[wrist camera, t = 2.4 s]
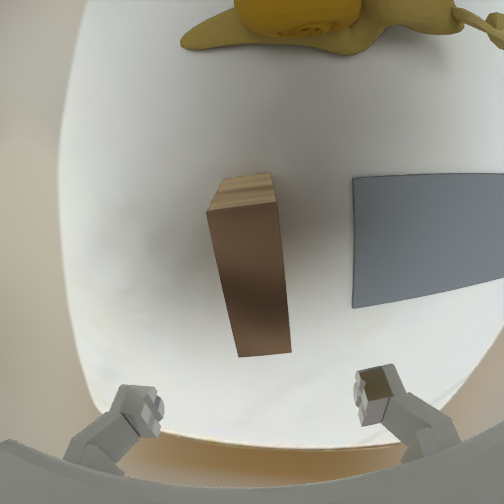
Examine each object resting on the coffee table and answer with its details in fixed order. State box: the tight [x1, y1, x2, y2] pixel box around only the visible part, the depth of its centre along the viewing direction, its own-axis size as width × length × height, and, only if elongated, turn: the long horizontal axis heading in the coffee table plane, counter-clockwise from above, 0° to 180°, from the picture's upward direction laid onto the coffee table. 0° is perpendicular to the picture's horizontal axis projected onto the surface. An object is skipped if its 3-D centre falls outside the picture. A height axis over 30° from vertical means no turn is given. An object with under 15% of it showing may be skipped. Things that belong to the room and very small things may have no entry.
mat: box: [352, 173, 504, 309], centre depth 23 cm, size 12×20×1 cm, turn 98°
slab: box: [206, 173, 292, 357], centre depth 20 cm, size 10×4×8 cm, turn 8°
